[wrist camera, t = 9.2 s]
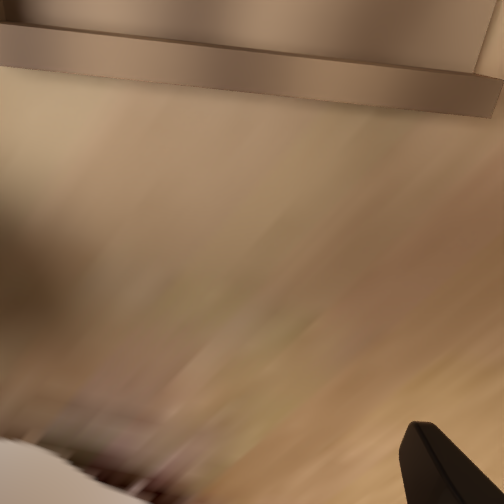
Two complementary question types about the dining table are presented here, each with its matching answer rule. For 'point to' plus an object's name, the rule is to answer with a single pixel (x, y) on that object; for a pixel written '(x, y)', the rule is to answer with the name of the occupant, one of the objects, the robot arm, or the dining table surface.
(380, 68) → the arena
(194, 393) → the dining table surface
